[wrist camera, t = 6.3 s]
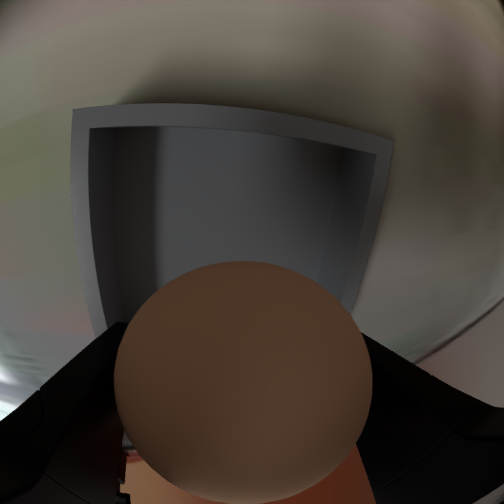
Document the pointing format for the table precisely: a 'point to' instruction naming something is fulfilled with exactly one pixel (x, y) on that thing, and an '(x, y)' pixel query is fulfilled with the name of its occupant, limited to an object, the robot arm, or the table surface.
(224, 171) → the grey open square tray
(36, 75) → the table surface
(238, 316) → the ball
